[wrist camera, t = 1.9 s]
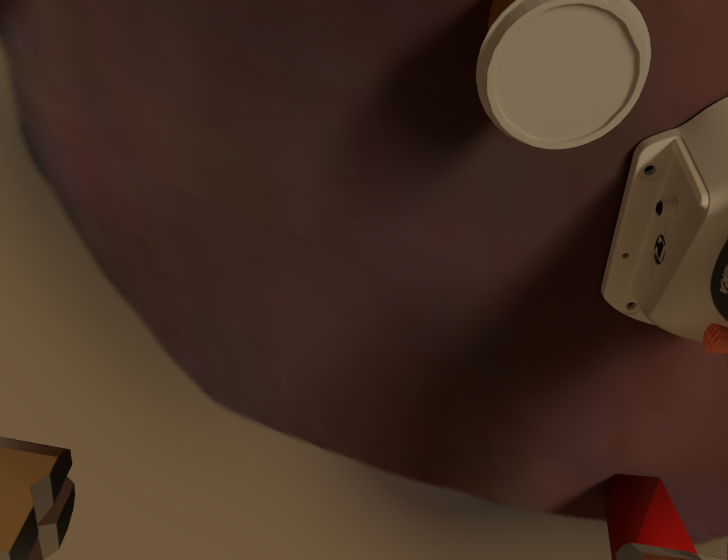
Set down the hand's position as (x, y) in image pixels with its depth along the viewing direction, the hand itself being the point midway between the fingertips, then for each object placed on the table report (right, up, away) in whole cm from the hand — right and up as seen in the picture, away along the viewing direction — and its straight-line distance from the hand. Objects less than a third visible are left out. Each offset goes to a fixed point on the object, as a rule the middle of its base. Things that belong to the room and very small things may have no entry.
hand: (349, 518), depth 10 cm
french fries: (+31, -19, +67) cm, 76 cm away
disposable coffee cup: (+12, +22, +37) cm, 45 cm away
